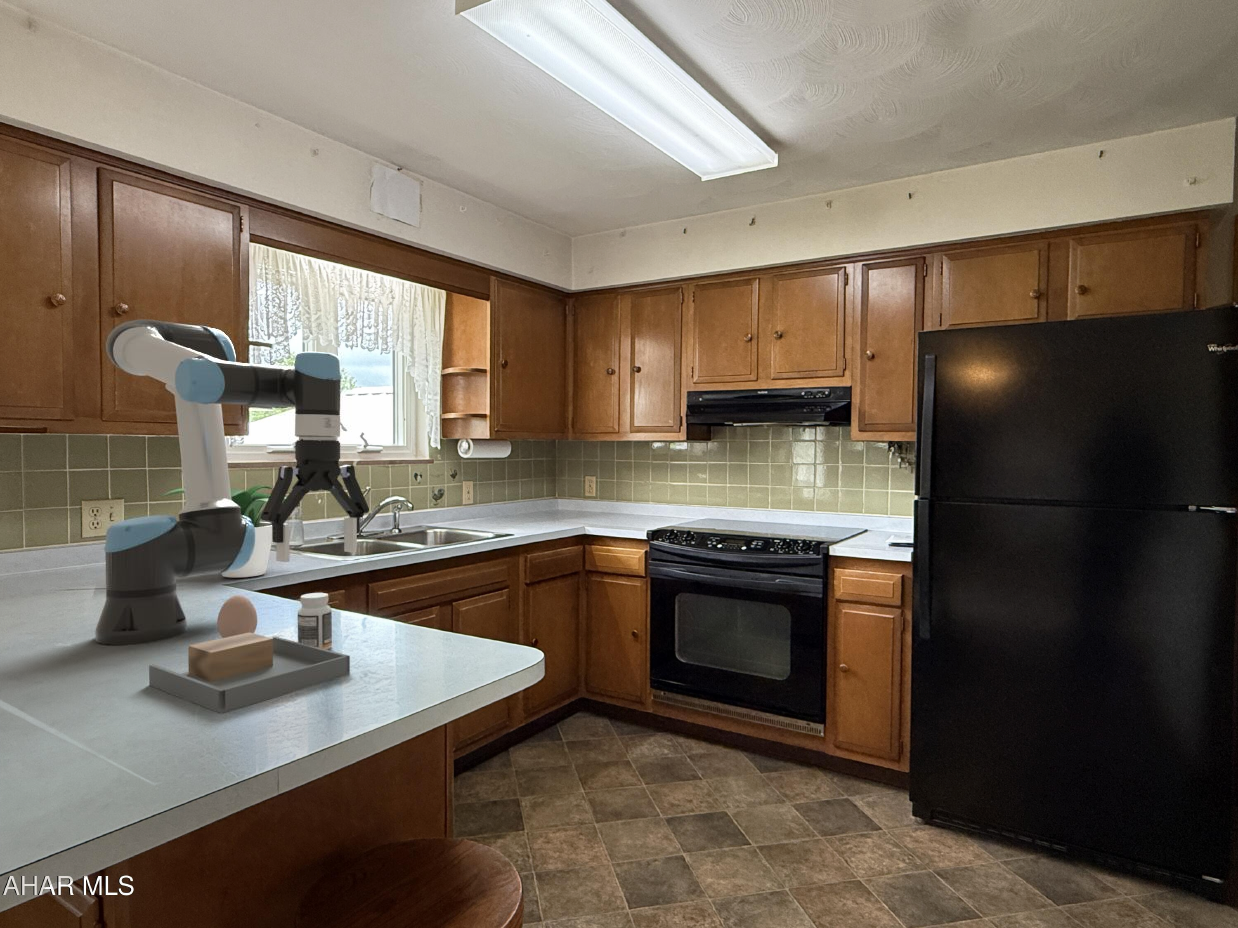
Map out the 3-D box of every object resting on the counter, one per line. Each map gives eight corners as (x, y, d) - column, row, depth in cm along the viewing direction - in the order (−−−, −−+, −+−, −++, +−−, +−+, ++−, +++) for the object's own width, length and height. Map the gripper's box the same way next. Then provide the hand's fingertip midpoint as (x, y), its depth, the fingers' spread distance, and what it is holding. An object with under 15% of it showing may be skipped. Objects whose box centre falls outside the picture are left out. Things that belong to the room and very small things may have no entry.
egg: (209, 648, 132) (209, 598, 132) (229, 639, 139) (229, 591, 139) (246, 648, 132) (245, 599, 132) (264, 639, 139) (263, 591, 139)
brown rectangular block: (188, 673, 116) (188, 645, 116) (249, 658, 124) (249, 632, 124) (211, 681, 112) (211, 652, 112) (273, 665, 120) (272, 638, 120)
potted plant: (160, 572, 211) (159, 485, 210) (290, 562, 230) (290, 482, 229) (163, 591, 184) (162, 490, 184) (310, 577, 204) (310, 487, 203)
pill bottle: (321, 643, 136) (321, 590, 136) (337, 648, 133) (337, 594, 132) (291, 649, 132) (291, 595, 132) (307, 655, 128) (307, 599, 128)
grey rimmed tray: (149, 684, 112) (149, 665, 112) (275, 653, 129) (275, 636, 129) (221, 713, 100) (220, 690, 100) (349, 674, 118) (349, 655, 117)
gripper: (263, 438, 119) (263, 567, 119) (388, 439, 139) (388, 550, 140) (238, 438, 123) (238, 563, 123) (363, 439, 143) (363, 546, 144)
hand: (318, 556), depth 132 cm, fingers open, 13 cm apart
